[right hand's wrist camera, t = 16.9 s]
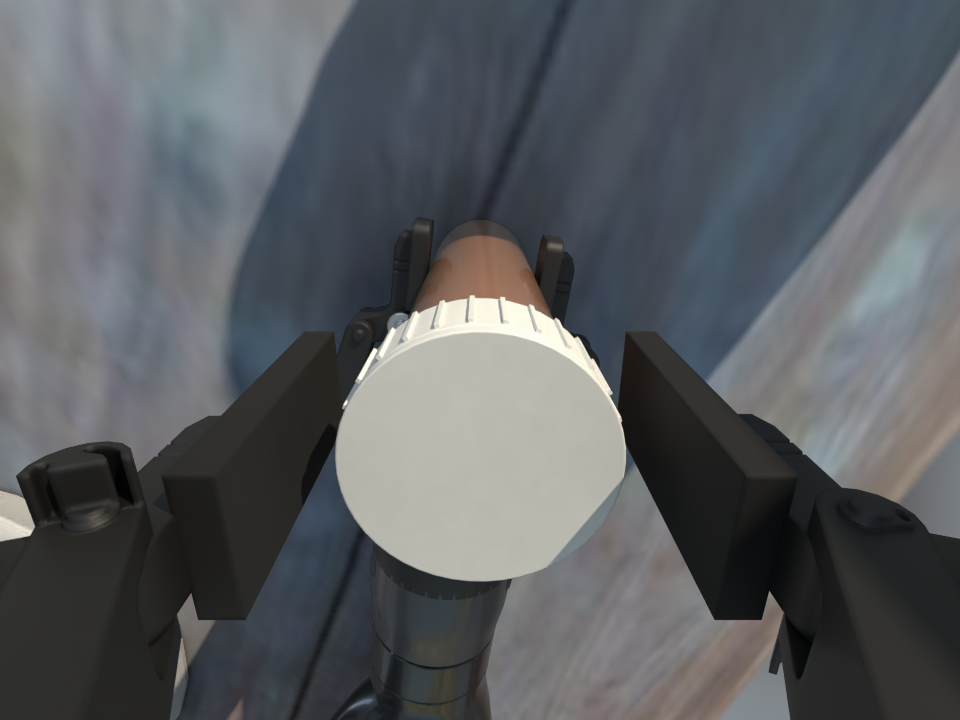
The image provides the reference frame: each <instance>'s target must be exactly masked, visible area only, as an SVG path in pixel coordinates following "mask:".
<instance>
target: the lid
mask: <svg viewBox="0 0 960 720" xmlns="http://www.w3.org/2000/svg"><path fill="white" fill-rule="evenodd" d="M355 382H356V383H355V384H354V386H353V388H352V390H351V392H350V393H349V395H348V397H347V399H346V401H345V403H344V404H343V407H342V409H344V413H343V416H342V418H341V421H340V423H339V427H338V432H337V436H336V443H335V467H336V475H337V479H338V483H339V487H340V491H341V493H342V496H343V498H344V501H345V503H346V505H347V507H348V509H349V511H350V512H351V514H352V516H353V518H354V519H355V520H356V522H357V523H358V524H359V526H360V527H361V528H362V530H363V531H364V532H365V533H366V534H367V535H368V536H369V537H370V538H371V539H372V540H373V541H374V542H375V543H376V544H377V545H378V546H380V547H381V548H382V549H383V550H385V551H386V552H387V553H389V554H390V555H392V556H393V557H395V558H397V559H398V560H400V561H401V562H403V563H405V564H407V565H409V566H412V567H414V568H416V569H418V570H421V571H424V572H426V573H429V574H432V575H435V576H440V577H444V578H449V579H454V580H463V581H483V582H486V581H498V580H506V579H512V578H517V577H521V576H525V575H528V574H531V573H535V572H537V571H540V570H542V569H545V568H547V567H549V566H552V565H554V564H555V563H557V562H559V561H561V560H563V559H564V558H566V557H568V556H569V555H570V554H572V553H573V552H575V551H576V550H577V549H579V548H580V547H581V546H582V545H583V544H585V543H586V542H587V541H588V540H589V539H590V538H591V537H592V536H593V535H594V534H595V533H596V531H597V530H598V529H599V528H600V527H601V526H602V524H603V523H604V521H605V520H606V518H607V517H608V515H609V514H610V512H611V511H612V509H613V506H614V504H615V502H616V500H617V498H618V496H619V492H620V489H621V486H622V482H623V479H624V472H625V465H626V445H625V438H624V432H623V428H622V425H621V422H622V419H621V416H620V414H619V412H618V411H617V409H616V407H615V405H614V403H613V401H612V400H611V398H610V395H612V394H613V393H612V391H611V389H610V388H609V386H608V384H607V382H606V381H605V379H604V377H603V375H602V373H601V372H600V370H599V368H598V366H597V364H596V363H595V361H594V359H590V357H589V355H588V353H587V351H586V349H585V348H584V346H583V344H582V342H581V340H580V339H579V338H578V337H576V338H575V339H574V338H573V337H572V335H571V334H570V333H569V332H568V331H567V330H565V329H564V328H563V327H562V325H561V323H560V321H559V320H558V319H557V318H555V319H554V320H552V319H551V318H549V317H547V316H546V315H544V314H542V313H541V312H539V311H536V310H535V308H534V306H533V305H530V304H529V306H528V307H527V306H524V305H521V304H517V303H514V302H511V301H506V300H505V297H500V300H499V299H492V298H475V295H472V296H470V297H469V299H461V300H455V301H451V302H447V303H445V300H442V301H440V303H439V305H437V306H434V307H431V308H429V309H426V310H424V311H422V312H420V313H419V314H418V312H417V311H415V312H413V313H412V316H411V318H410V319H408V320H407V321H406V322H404V323H403V324H401V325H400V326H399V327H397V328H396V329H394V328H393V327H392V328H391V329H390V330H389V332H388V334H387V336H386V338H385V340H384V342H383V343H382V344H381V346H380V347H379V348H378V349H375V348H374V349H373V350H372V352H371V354H370V355H369V357H368V359H367V361H366V363H365V364H364V366H363V368H362V370H361V372H360V373H359V375H358V377H357V379H356V381H355Z"/></svg>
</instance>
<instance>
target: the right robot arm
mask: <svg viewBox="0 0 960 720" xmlns="http://www.w3.org/2000/svg"><path fill="white" fill-rule="evenodd" d="M618 412H619V414H620V416H621V419H622V422H621V425H622V428H623V432H624V438H625V444H626V446H627V448H628V450H629V452H630V454H631V456H632V458H633V460H634V461H635V463H636V465H637V467H638V469H639V471H640V473H641V475H642V477H643V479H644V481H645V483H646V485H647V487H648V489H649V491H650V493H651V495H652V497H653V499H654V501H655V503H656V505H657V507H658V509H659V511H660V513H661V515H662V517H663V519H664V521H665V523H666V525H667V527H668V529H669V531H670V533H671V535H672V537H673V539H674V541H675V543H676V545H677V546H678V548H679V550H680V552H681V554H682V556H683V558H684V560H685V562H686V564H687V566H688V568H689V570H690V572H691V574H692V576H693V578H694V580H695V582H696V584H697V586H698V588H699V590H700V592H701V594H702V596H703V598H704V600H705V602H706V604H707V606H708V608H709V610H710V612H711V614H712V616H713V618H714V620H762V617H763V613H764V609H765V605H766V601H767V597H768V593H769V591H770V592H771V594H772V595H773V597H774V598H775V600H776V601H777V603H778V604H779V606H780V607H781V609H782V610H783V612H784V614H783V618H782V621H781V625H780V628H779V632H778V636H777V639H776V643H775V647H774V650H773V654H772V657H771V661H770V667H769V673H773V674H777V672H778V668H779V665H780V663H781V662H782V664H783V671H784V678H785V685H786V692H787V699H788V706H789V713H790V720H960V539H958V538H952V537H947V536H942V535H936V534H931V533H929V532H928V530H927V528H926V527H925V525H924V524H923V523H922V522H921V521H920V520H919V519H918V518H917V517H916V516H915V514H913V513H911V512H910V511H908V510H907V509H905V508H904V507H902V506H901V505H899V504H898V503H895V502H893V501H891V500H888V499H886V498H884V497H882V496H879V495H876V494H873V493H869V492H865V491H862V490H858V489H849V488H841V487H840V486H839V485H838V484H837V483H836V482H835V481H834V480H833V479H832V478H831V477H829V476H828V475H827V474H826V473H825V472H824V471H823V470H822V469H821V468H820V467H819V466H817V465H816V464H815V463H814V462H813V461H812V460H811V459H810V458H809V457H808V456H807V455H803V454H802V451H801V450H800V449H799V448H798V447H797V446H796V445H795V444H793V443H790V440H789V439H788V438H787V437H786V436H785V435H784V434H783V433H781V432H780V431H779V430H778V429H777V428H776V427H775V426H773V425H772V424H770V423H768V422H766V421H764V420H762V419H760V418H758V417H756V416H754V415H752V414H737V413H736V412H735V411H734V410H733V409H732V408H731V407H730V406H729V405H728V404H727V403H726V402H725V401H724V400H723V399H722V398H721V397H720V396H719V395H718V394H717V393H716V392H715V391H714V390H713V389H712V388H711V387H710V386H709V385H708V384H707V383H706V382H705V381H704V380H703V379H702V378H701V377H700V376H699V375H698V374H697V373H696V372H695V371H694V370H693V369H692V368H691V367H690V366H689V365H688V364H687V363H686V362H685V361H684V360H683V359H682V358H681V357H680V356H679V355H678V354H677V353H676V352H675V351H674V350H673V349H672V348H671V347H670V346H669V345H668V344H667V343H666V342H665V341H664V340H663V339H662V338H661V337H660V336H659V335H658V334H657V333H656V332H626V337H625V346H624V356H623V365H622V375H621V384H620V394H619V403H618ZM342 416H343V412H342V403H341V394H340V384H339V375H338V365H337V356H336V346H335V337H334V332H304V333H303V334H302V335H301V336H300V337H299V338H298V339H297V340H296V341H295V342H294V343H293V344H292V345H291V346H290V347H289V348H288V349H287V350H286V351H285V352H284V353H283V354H282V355H281V356H280V357H279V358H278V359H277V360H276V361H275V362H274V363H273V364H272V365H271V366H270V367H269V368H268V369H267V370H266V371H265V372H264V373H263V374H262V375H261V376H260V377H259V378H258V379H257V380H256V381H255V382H254V383H253V384H252V385H251V386H250V387H249V388H248V389H247V390H246V391H245V392H244V393H243V394H242V395H241V396H240V397H239V398H238V399H237V400H236V401H235V402H234V403H233V404H232V405H231V406H230V407H229V408H228V409H227V410H226V411H225V412H224V413H223V414H222V415H221V416H208V417H206V418H204V419H202V420H200V421H198V422H196V423H194V424H192V425H191V426H189V427H187V428H185V429H184V430H183V431H182V432H181V433H180V434H179V435H178V436H177V437H176V438H174V439H173V440H172V441H171V445H167V446H166V447H165V448H164V449H163V450H162V451H160V452H159V453H158V457H154V458H153V459H152V460H151V461H150V462H149V463H147V464H146V465H145V466H144V467H143V468H142V469H141V470H140V471H139V472H138V473H137V470H136V466H135V462H134V459H133V455H132V451H131V448H129V447H128V446H126V445H124V444H123V443H117V442H108V441H107V442H95V443H86V444H82V445H78V446H74V447H69V448H66V449H63V450H60V451H57V452H55V453H52V454H49V455H47V456H44V457H43V458H41V459H39V460H37V461H35V462H33V463H32V464H30V465H28V466H27V467H26V468H24V469H23V470H22V471H21V472H20V473H19V474H18V475H17V476H16V477H17V480H18V483H19V485H20V488H21V491H22V493H23V496H24V499H25V501H26V504H27V507H28V509H29V512H30V515H31V517H32V520H33V523H34V525H35V528H34V530H33V531H32V533H31V535H30V536H26V537H21V538H16V539H11V540H5V541H0V720H170V715H171V708H172V701H173V694H174V687H175V680H176V673H177V666H178V659H179V652H180V645H181V630H180V625H179V621H178V618H177V613H178V612H179V610H180V609H181V607H182V606H183V604H184V603H185V601H186V600H187V598H188V597H189V595H190V594H191V593H192V597H193V601H194V605H195V609H196V613H197V617H198V620H246V618H247V616H248V614H249V612H250V610H251V608H252V606H253V604H254V602H255V600H256V598H257V596H258V594H259V592H260V590H261V588H262V586H263V584H264V582H265V580H266V578H267V576H268V574H269V572H270V570H271V568H272V566H273V564H274V562H275V560H276V558H277V556H278V554H279V552H280V550H281V548H282V546H283V545H284V543H285V541H286V539H287V537H288V535H289V533H290V531H291V529H292V527H293V525H294V523H295V521H296V519H297V517H298V515H299V513H300V511H301V509H302V507H303V505H304V503H305V501H306V499H307V497H308V495H309V493H310V491H311V489H312V487H313V485H314V483H315V481H316V479H317V477H318V475H319V473H320V471H321V469H322V467H323V465H324V463H325V461H326V460H327V458H328V456H329V454H330V452H331V450H332V448H333V446H334V444H335V442H336V436H337V432H338V427H339V423H340V421H341V418H342Z"/></svg>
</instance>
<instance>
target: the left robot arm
mask: <svg viewBox="0 0 960 720" xmlns="http://www.w3.org/2000/svg"><path fill="white" fill-rule="evenodd" d="M433 227H434V220H431V219H424V218H417V219H416V220H415V221H414V224H413V229H412V231H410V230H405V231H404V232H403V233H402V234H401V235H400V237H399V239H398V241H397V243H396V245H395V251H394V264H393V277H392V290H391V301H390V303H389V304H388V305H386V306H382V307H377V308H371V307H366V308H363V309H361V310H360V311H359V312H358V314H357V315H356V316H355V317H354V319H353V320H352V321H351V323H350V324H349V325H348V326H347V328H346V330H345V333H344V336H343V339H342V342H341V345H340V348H339V351H338V354H337V365H338V375H339V384H340V394H341V403H342V407H343V404H344V403H345V401H346V399H347V397H348V395H349V393H350V392H351V390H352V388H353V386H354V384H355V383H356V382H355V381H356V379H357V377H358V375H359V373H360V372H361V370H362V368H363V366H364V364H365V363H366V361H367V359H368V357H369V355H370V354H371V352H372V350H373V347H374V344H375V342H380V341H384V340H385V338H386V336H387V334H388V332H389V330H390V329H391V328H392V327H393V328H394V329H396V328H397V327H399V326H400V325H401V324H403V323H404V322H406V320H407V318H408V315H409V313H410V311H411V309H412V307H413V304H414V302H415V300H416V298H417V295H418V293H419V291H420V289H421V286H422V284H423V282H424V280H425V278H426V275H427V273H428V271H429V266H430V256H431V246H432V237H433ZM573 275H574V265H573V260H572V257H571V256H570V255H569V254H568V253H567V252H563V241H562V240H561V239H560V238H559V237H554V236H547V235H543V236H542V239H541V243H540V248H539V254H538V260H537V265H536V271H535V276H534V277H535V279H536V281H537V284H538V286H539V288H540V290H541V292H542V295H543V297H544V299H545V301H546V304H547V306H548V308H549V310H550V312H551V315H552V317H553V319H555V318H557V319H558V320H559V321H560V323H561V325H562V327H563V324H564V318H565V314H566V309H567V304H568V299H569V293H570V289H571V283H572V280H573ZM565 330H566V329H565ZM568 332H569V331H568ZM569 333H570V334H571V335H572V337H573V338H574V339H575V338H576V337H578V338H579V339H580V340H581V342H582V344H583V346H584V348H585V349H586V351H587V353H588V355H589V357H590V359H594V361H595V363H596V364H597V366H598V368H599V359H598V357H597V355H596V354H595V352H594V351H593V350H592V349H591V347H590V343H589V342H588V340H587V339H586V337H584V336H583V335H580V334H573V333H571V332H569ZM599 370H600V368H599ZM342 412H343V413H344V409H342ZM370 570H371V572H372V573H371V594H372V604H373V617H372V629H371V641H370V654H369V671H370V676H369V677H368V678H367V679H366V680H365V681H363V682H362V683H361V684H360V685H359V686H358V687H357V688H356V690H355V691H354V692H353V693H352V694H351V695H350V696H349V697H348V698H347V699H346V701H345V702H344V703H343V704H342V705H341V706H340V708H339V709H338V710H337V711H336V712H335V714H334V715H333V716H332V717H331V718H330V719H329V720H492V718H491V708H490V698H489V692H488V687H487V681H486V670H487V666H488V661H489V655H490V650H491V645H492V640H493V635H494V631H495V627H496V624H497V621H498V619H499V616H500V614H501V611H502V608H503V606H504V602H505V598H506V594H507V590H508V588H509V587H510V584H511V580H512V579H506V580H498V581H486V582H483V581H463V580H454V579H449V578H444V577H440V576H435V575H432V574H429V573H426V572H424V571H421V570H418V569H416V568H414V567H412V566H409V565H407V564H405V563H403V562H401V561H400V560H398V559H397V558H395V557H393V556H392V555H390V554H389V553H387V552H386V551H385V550H383V549H382V548H381V547H380V546H378V545H377V544H376V543H375V542H374V548H373V551H372V555H371V558H370Z"/></svg>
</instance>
